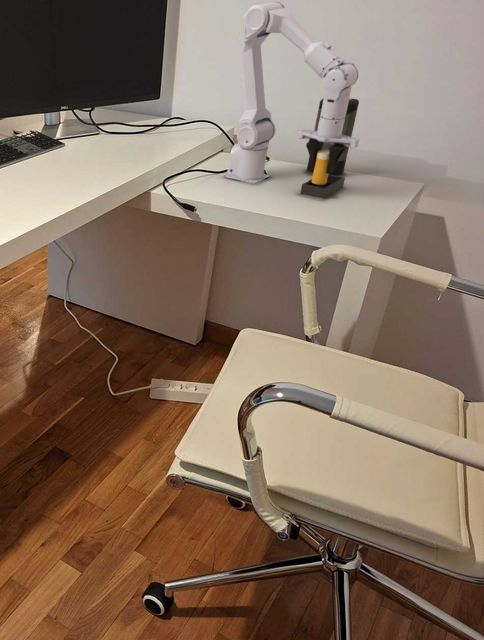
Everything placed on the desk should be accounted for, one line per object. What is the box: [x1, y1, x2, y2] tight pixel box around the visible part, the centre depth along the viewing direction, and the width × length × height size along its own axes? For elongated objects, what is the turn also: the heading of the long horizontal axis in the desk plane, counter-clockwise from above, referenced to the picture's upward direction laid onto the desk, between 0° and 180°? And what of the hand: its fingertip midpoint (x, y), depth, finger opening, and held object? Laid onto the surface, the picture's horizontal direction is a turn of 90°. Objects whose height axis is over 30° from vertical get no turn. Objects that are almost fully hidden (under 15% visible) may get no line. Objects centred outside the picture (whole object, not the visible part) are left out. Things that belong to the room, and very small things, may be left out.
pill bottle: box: [311, 150, 329, 185], centre depth 171 cm, size 4×4×8 cm
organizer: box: [300, 174, 346, 200], centre depth 175 cm, size 6×12×3 cm, turn 133°
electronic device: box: [306, 97, 360, 177], centre depth 182 cm, size 9×6×20 cm, turn 58°
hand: (321, 171), depth 171 cm, fingers closed on pill bottle, 3 cm apart
